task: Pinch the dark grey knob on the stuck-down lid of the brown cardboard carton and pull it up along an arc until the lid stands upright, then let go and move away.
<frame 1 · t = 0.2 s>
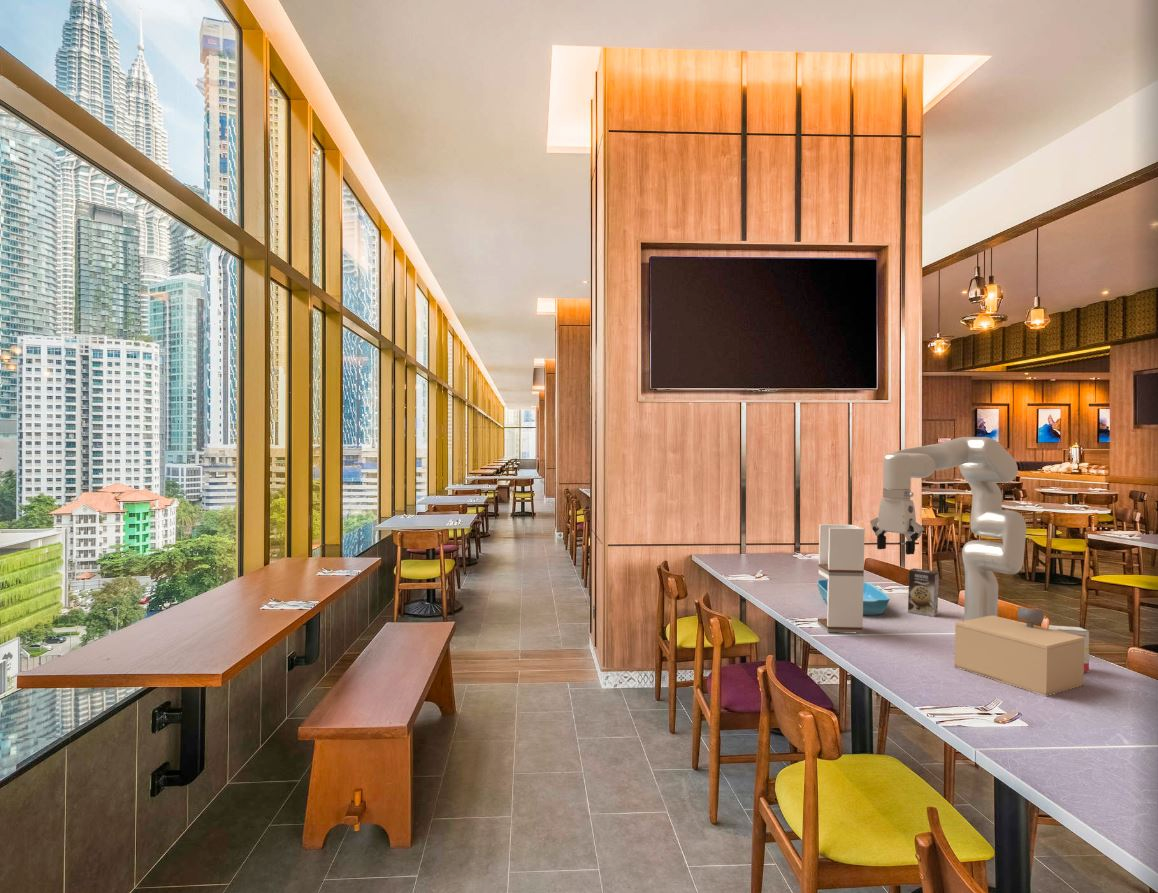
hand: (895, 551, 201), 31 cm above the table, tool pointing down, fingers open, 9 cm apart
dessert mix box: (922, 613, 251), on the table
carton: (1016, 676, 184), on the table
ink box: (1067, 669, 191), on the table
display case: (839, 629, 229), on the table
casserole dish: (851, 606, 262), on the table
carton lid: (1017, 621, 184), point 15 cm above the table, hinge at 0.0°
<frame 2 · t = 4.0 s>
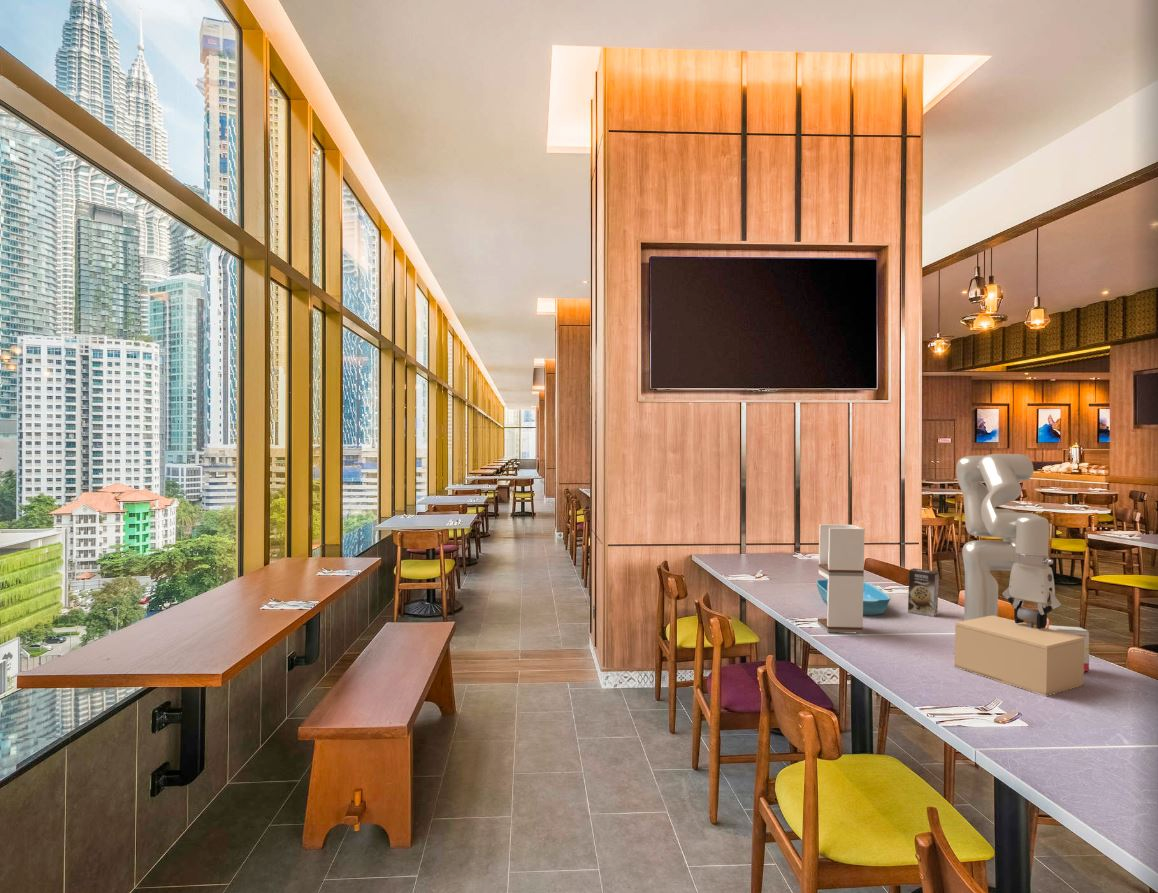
hand: (1030, 624, 187), 14 cm above the table, tool pointing down, fingers closed on carton lid, 5 cm apart
carton lid: (1017, 621, 184), point 15 cm above the table, hinge at 0.0°, touching gripper
everything else where it was.
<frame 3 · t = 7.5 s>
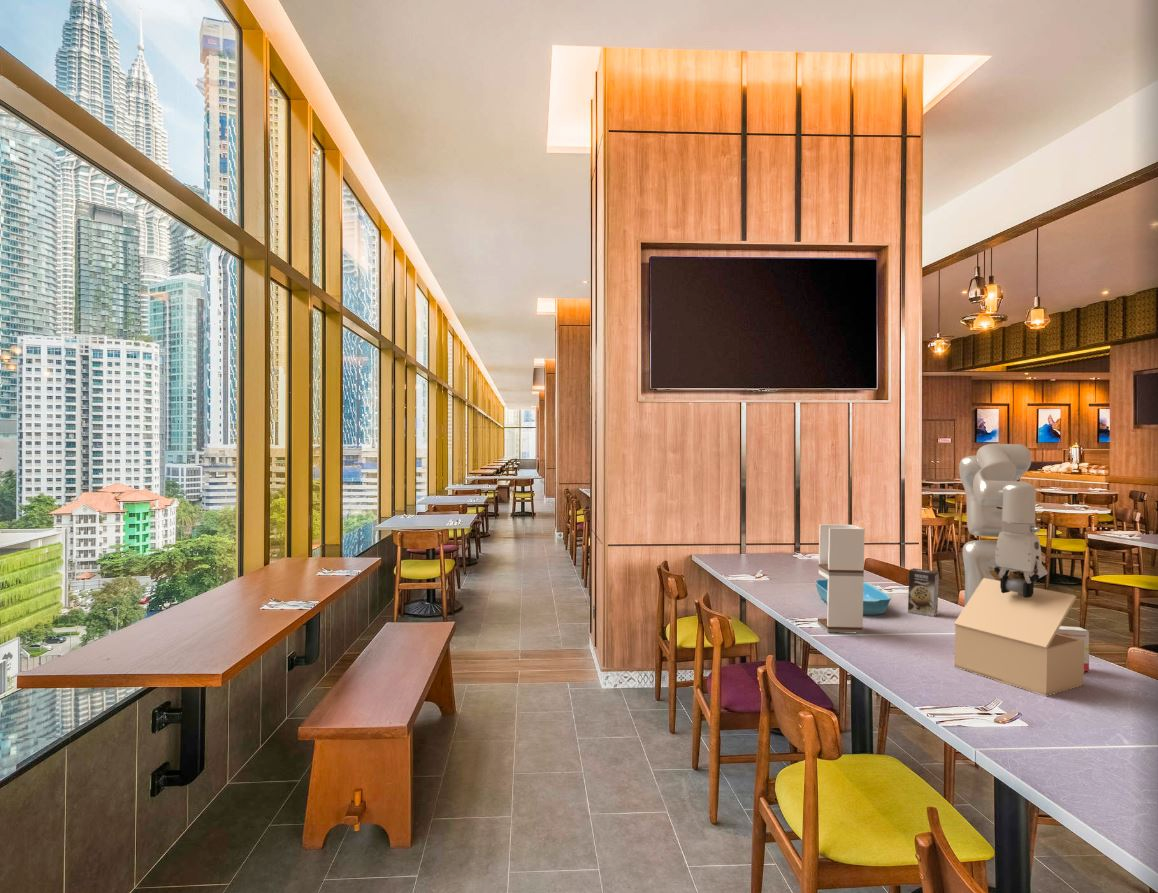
hand: (1016, 593, 183), 23 cm above the table, tool pointing down, fingers closed on carton lid, 5 cm apart
carton lid: (1009, 604, 182), point 20 cm above the table, hinge at 41.2°, touching gripper
everything else where it was.
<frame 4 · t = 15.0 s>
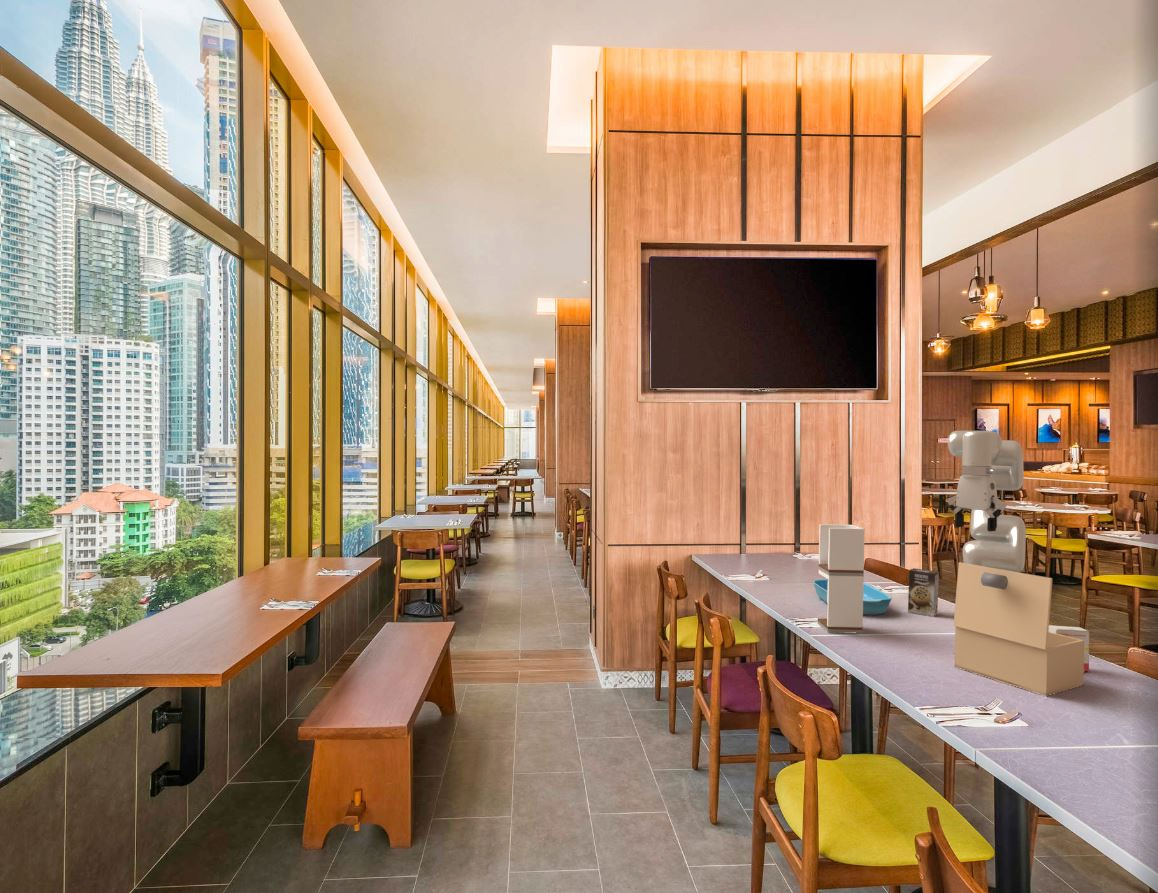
hand: (975, 529, 201), 38 cm above the table, tool pointing down, fingers open, 9 cm apart
carton lid: (994, 603, 179), point 21 cm above the table, hinge at 84.1°
at the end: carton lid at +84° (first picture: +0°); the gripper is holding nothing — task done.
